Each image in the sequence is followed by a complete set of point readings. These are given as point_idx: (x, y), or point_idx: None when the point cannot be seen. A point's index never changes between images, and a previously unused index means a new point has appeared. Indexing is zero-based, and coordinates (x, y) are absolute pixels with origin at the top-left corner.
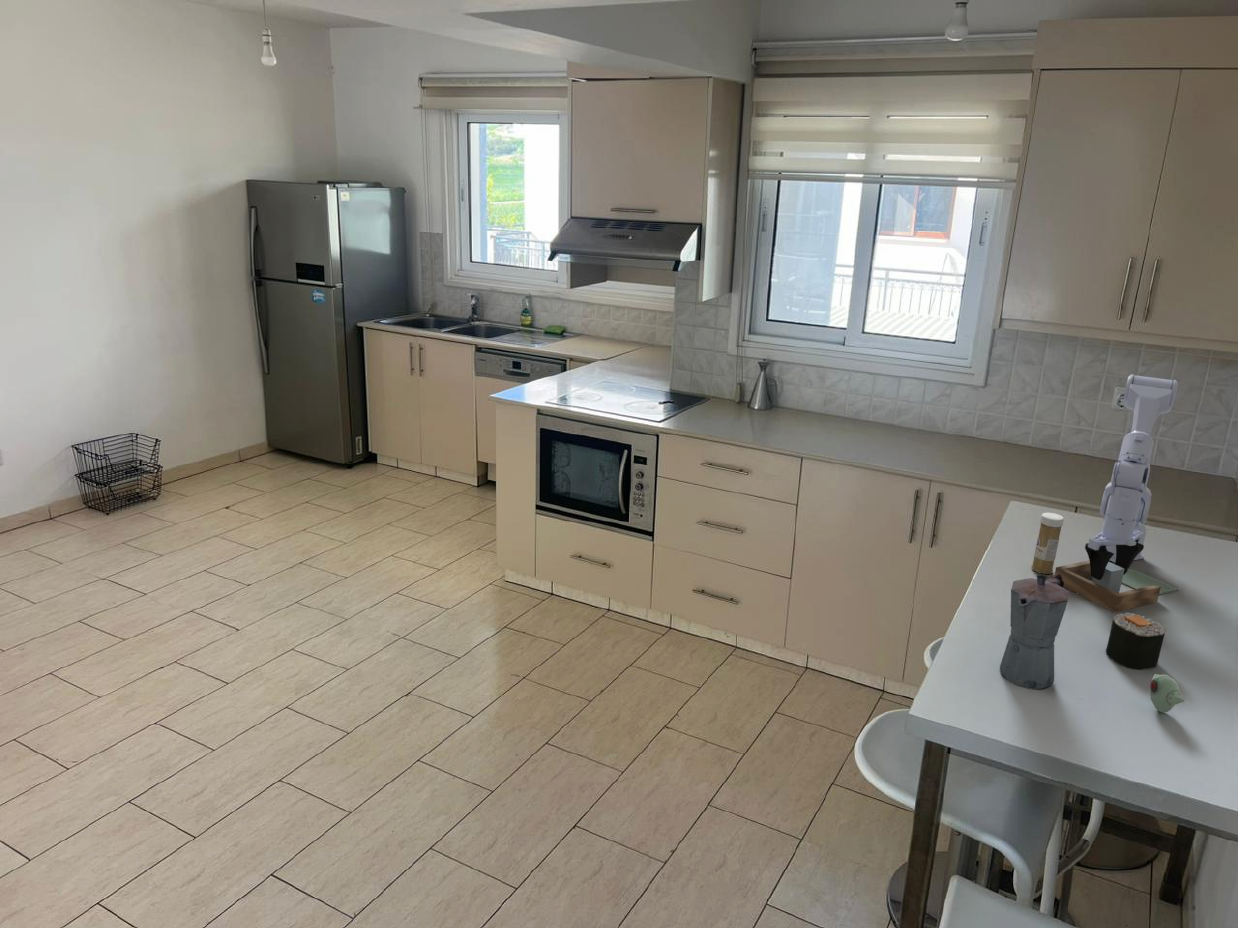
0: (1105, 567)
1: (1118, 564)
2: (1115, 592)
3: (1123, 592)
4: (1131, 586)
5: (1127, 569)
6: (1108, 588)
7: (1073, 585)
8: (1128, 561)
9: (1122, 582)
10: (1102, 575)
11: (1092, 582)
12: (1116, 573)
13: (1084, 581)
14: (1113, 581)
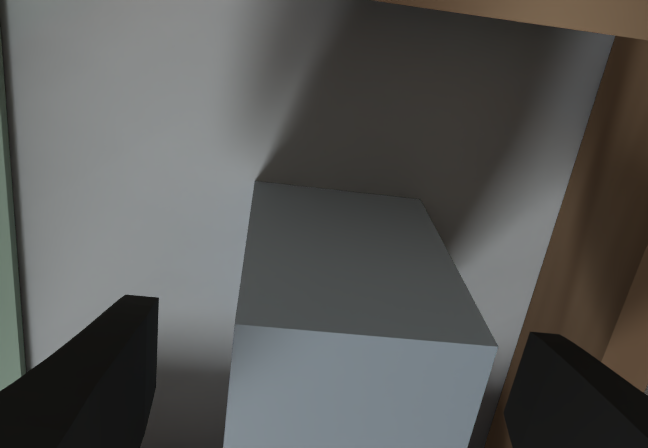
0: (636, 423)
1: (131, 434)
2: (309, 195)
3: (634, 25)
4: (7, 207)
5: (107, 319)
6: (434, 233)
7: None
8: (94, 403)
9: (14, 289)
10: (574, 354)
11: (626, 337)
12: (387, 310)
13: (638, 384)
14: (393, 260)
